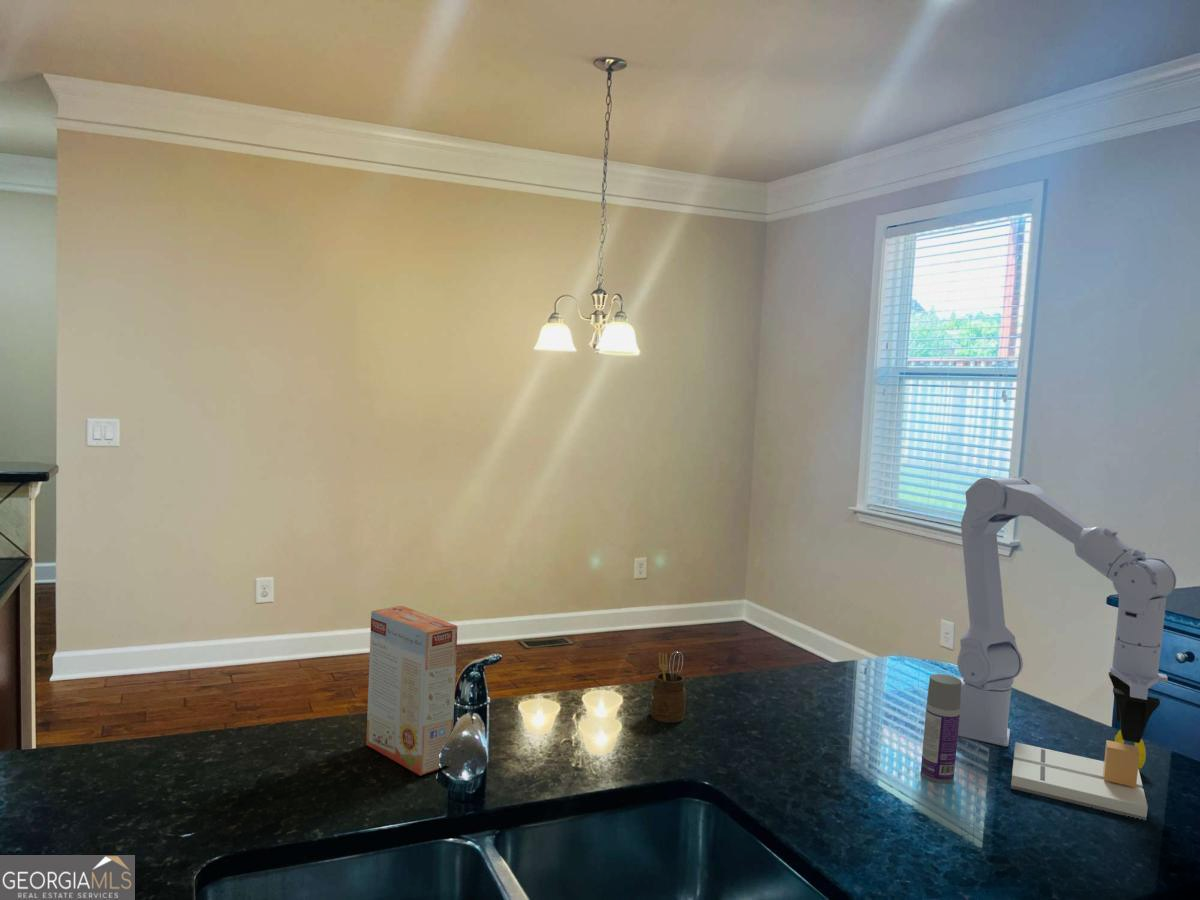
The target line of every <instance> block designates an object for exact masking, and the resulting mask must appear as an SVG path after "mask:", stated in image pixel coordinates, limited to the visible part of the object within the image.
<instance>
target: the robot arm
mask: <svg viewBox="0 0 1200 900" xmlns="http://www.w3.org/2000/svg"><path fill="white" fill-rule="evenodd" d="M965 502H966V506H965V509H964V512H963V515H962V517H961V522H960V528H961V529H960V530H961V540H962V549H963V551H962V552H963V562H964V563H963V564H964V572H965V584H966V594H967V595H966V596H967V607H968V619H969V627H968V628H967V630H966V631H965V632H964V634H963V635H962V636H961V638H960V640H959V642H960V643H959V644H960V650H959V654H958V656H957V662H956V663H957V664H956V665H957V669H958V671H959V674H960V675H961V677H958V676H957V677H956V678H958V679H960V680H961V682H962V684H961V700H960V717H959V727H958V737H961V738H962V737H963V738H967V739H969V740H970V739H971V740H975V741H979V742H983V743H984V742H985V743H988V744H991V745H992V744H993V745H996V746H997V745H998V746H1002V747H1009V742H1010V736H1011V735H1010V734H1011V729H1010V728H1009V727H1008V726H1009V725H1008V724H1009V715H1010V707H1011V706H1010V705H1011V704H1010V703H1011V695H1012V686H1013V685H1014V679H1015V678H1016V677H1018V676H1019V675H1020V673H1022V670H1023V665H1024V663H1023V662H1024V661H1023V657H1022V655H1021V653H1020V650H1019V649H1018V646H1017V643H1016V636H1015V635H1014V634H1013V632H1011V630H1009V628H1008V627H1007V626H1006V621H1005V610H1004V601H1003V600H1004V599H1003V590H1002V589H1003V588H1002V587H1003V586H1002V579H1001V569H1000V568H1001V566H1000V558H999V556H1000V555H999V547H998V537H997V534H998V533H999V532H1000V531H1001V530H1002V529H1003V528H1004V527H1005V526H1006V525H1007V524H1008V523H1009V522H1010V521H1011V520H1014V519H1017V518H1018V517H1020V516H1021V517H1023V516H1024V517H1031V518H1032V519H1035V520H1036V521H1037V522H1039V523H1040V524H1042V525H1044V526H1046V528H1048V529H1050V530H1052V532H1055V533H1056V534H1058V535H1059V536H1061V537H1062V538H1064V539H1065V540H1067V541H1068V542H1070V543H1072V544H1073V546H1074V553H1075V555H1076V556H1077V557H1078V558H1079V559H1080V560H1083V562H1085V563H1086V564H1088V566H1090V567H1092V568H1094V570H1096V571H1098V572H1099V573H1100V574H1101V575H1102V576H1104V577H1106V578H1107V579H1109V580H1110V581H1111V582H1112V585H1113V588H1114V590H1115V591H1116V593H1117V595H1118V604H1117V605H1118V611H1117V617H1116V618H1117V619H1116V628H1115V636H1114V637H1115V638H1114V647H1113V655H1112V665H1110V669H1109V672H1108V677H1109V679H1110V681H1111V683H1112V684H1111V685H1112V687H1113V688H1112V693H1113V696H1114V698H1115V709H1116V711H1115V712H1116V718H1117V723H1119V724H1120V730H1121V734H1122V739H1123V740H1124V741H1126V742H1132V743H1134V742H1135V743H1139V742H1140V740H1141V738H1143V736H1144V733H1145V730H1146V727H1147V724H1148V722H1149V720H1150V719H1151V716H1152V715H1153V713H1154V712H1156V710H1157V709H1158V708H1159V706H1160V704H1161V701H1160V698H1159V697H1152V696H1148V693H1149V689H1150V688H1151V687H1153V686H1154V685H1156V684H1157V683H1158V682H1163V683H1167V682H1168V676H1167V674H1165V673H1161V672H1159V668H1160V659H1161V651H1162V644H1163V634H1164V626H1165V625H1164V623H1165V616H1166V613H1165V612H1166V606H1167V605H1166V603H1167V597H1168V596H1169V595H1170V594H1172V593H1173V592H1174V590H1175V588H1176V586H1177V576H1176V574H1175V571H1174V570H1173V569H1172V568H1173V567H1171V565H1169V564H1167V562H1166V561H1165V560H1164V559H1162V558H1159V557H1147V556H1146V552H1145V551H1144V550H1142V549H1140V548H1135V547H1133V546H1132V545H1130V544H1129V543H1127V542H1125V541H1124V540H1123V539H1121V538H1120V537H1118V536H1117V535H1118V531H1117V530H1115V529H1113V528H1112V527H1103V526H1094V527H1089V526H1088V525H1087V524H1085V523H1084V522H1083V521H1082V520H1080V519H1079V518H1078V517H1077V516H1075V515H1074V514H1073V513H1071V512H1070V511H1068V510H1067V509H1066V508H1064V507H1063V506H1062V505H1061V504H1059V503H1058V502H1057V501H1056V500H1054V499H1053V498H1052V497H1051V496H1049V495H1048V494H1046V493H1045V492H1044V490H1043V489H1042V488H1041V487H1040V486H1039V485H1037V484H1033V483H1032V482H1031V481H1030V480H1028V478H1027V479H1026V478H1024V477H1021V476H1014V477H997V478H996V477H995V478H993V477H981V478H979V479H977V480H976V481H975V482H973V484H972V485H971V486H970V487H969V488H968V489H967V490H965ZM1135 743H1134V744H1135Z"/></svg>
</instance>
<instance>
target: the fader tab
mask: <svg viewBox="0 0 1200 900" xmlns="http://www.w3.org/2000/svg"><path fill="white" fill-rule="evenodd" d="M1114 741H1115V740H1114ZM1114 741H1113V740H1107V739H1106V740H1105V750H1104V760H1103V761H1104V767H1103V776H1104V780H1106V781H1110V782H1115V783H1119V784H1124V785H1128V786H1132V787H1136V783H1137V774H1138V764H1139V755H1140V753H1139V749H1138V746H1135V745H1132V744H1126V743H1118V742H1114Z"/></svg>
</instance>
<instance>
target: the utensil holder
mask: <svg viewBox="0 0 1200 900" xmlns="http://www.w3.org/2000/svg"><path fill="white" fill-rule="evenodd" d="M674 653H675V654H674ZM677 653H678V655H681V657H682V658H684V656H683V654H682V652H681V651H678V650H677V651H676V650H675V651H673V652H672V653H671V655H670V659H669V662H671V661H672V656H673V654H674V657H673V662H672V663H675V660H676V659H675V657H676V655H677ZM680 659H681V658H678V663H677V668H676V673H675V672H674V666H675V664H672V669H671V663H669V662H668V654H667V653H665V654H664V652H658V665H659V666H658V667H659V670H661V671H662V672H659V673H657V674H655V676H654V680H653V682H654V685H653V686H652V690H651V695H650V716H651V718H653V719H654V720H656V721H658V722H660V723H665V724H674V723H675V724H676V723H679V722H682V721H683V720H684V718H685V714H686V703H687V702H686V701H687V691H686V688H685V685H686V681H685V677H684V676H683V675H681V674H680V673H681V672H679V673H678V670H679V667H680ZM683 661H684V660H682V663H681V666H683V665H684V664H683V663H684V662H683ZM668 664H669V665H668ZM682 669H683V667H681V668H680V670H682ZM668 670H671V671H672V672H671V671H669V672H667V671H668Z"/></svg>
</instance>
